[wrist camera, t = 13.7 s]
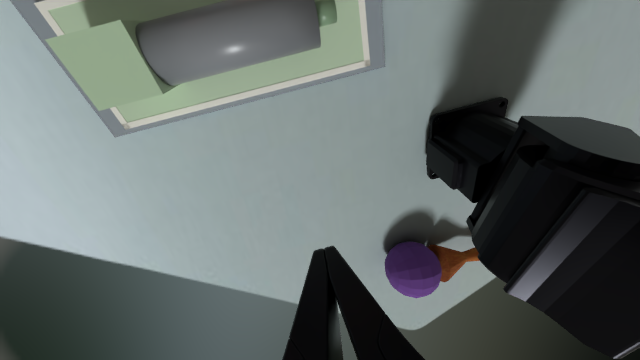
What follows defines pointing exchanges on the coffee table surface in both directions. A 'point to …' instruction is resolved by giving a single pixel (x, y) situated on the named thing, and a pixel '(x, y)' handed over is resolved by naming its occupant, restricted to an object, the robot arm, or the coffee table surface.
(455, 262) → the kendama
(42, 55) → the coffee table surface
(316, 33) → the marker
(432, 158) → the robot arm
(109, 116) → the grey compartment tray
